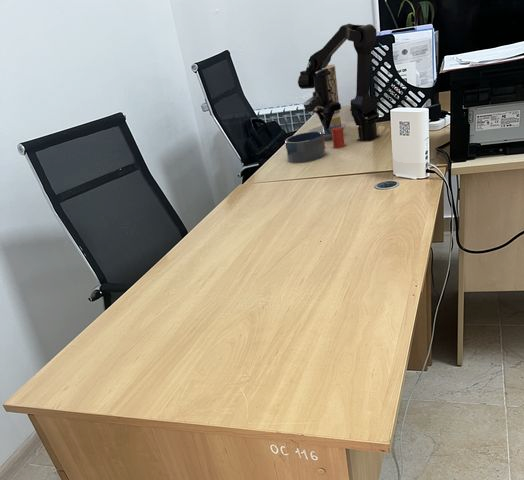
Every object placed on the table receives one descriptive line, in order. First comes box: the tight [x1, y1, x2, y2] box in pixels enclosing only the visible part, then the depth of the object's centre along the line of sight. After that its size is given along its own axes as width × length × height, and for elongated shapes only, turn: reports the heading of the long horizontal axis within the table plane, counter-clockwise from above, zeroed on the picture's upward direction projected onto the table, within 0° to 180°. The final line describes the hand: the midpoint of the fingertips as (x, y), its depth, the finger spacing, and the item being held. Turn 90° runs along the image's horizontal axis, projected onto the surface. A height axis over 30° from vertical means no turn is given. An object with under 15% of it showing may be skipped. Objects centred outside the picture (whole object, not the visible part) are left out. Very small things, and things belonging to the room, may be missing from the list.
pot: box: [284, 131, 326, 164], centre depth 210 cm, size 15×15×8 cm
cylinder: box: [331, 127, 346, 149], centre depth 214 cm, size 4×4×7 cm
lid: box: [307, 119, 346, 136], centre depth 230 cm, size 16×16×5 cm
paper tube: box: [321, 63, 342, 124], centre depth 240 cm, size 7×7×25 cm
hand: (326, 127), depth 230 cm, fingers closed on lid, 3 cm apart
